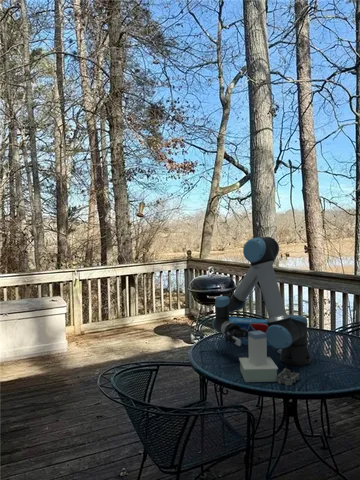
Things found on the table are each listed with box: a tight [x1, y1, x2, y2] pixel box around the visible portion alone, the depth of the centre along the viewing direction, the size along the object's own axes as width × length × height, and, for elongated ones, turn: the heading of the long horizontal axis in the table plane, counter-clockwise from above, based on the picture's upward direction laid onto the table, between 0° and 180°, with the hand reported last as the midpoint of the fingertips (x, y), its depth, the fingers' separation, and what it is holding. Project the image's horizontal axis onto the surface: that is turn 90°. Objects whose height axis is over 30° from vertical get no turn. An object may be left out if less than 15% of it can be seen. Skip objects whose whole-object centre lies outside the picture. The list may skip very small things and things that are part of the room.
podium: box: [238, 356, 279, 383], centre depth 183 cm, size 15×15×6 cm
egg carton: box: [276, 367, 300, 387], centre depth 177 cm, size 11×8×4 cm
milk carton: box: [247, 330, 268, 366], centre depth 183 cm, size 6×6×14 cm
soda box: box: [225, 316, 275, 348], centre depth 233 cm, size 40×14×13 cm, turn 70°
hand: (252, 341), depth 185 cm, fingers open, 13 cm apart
